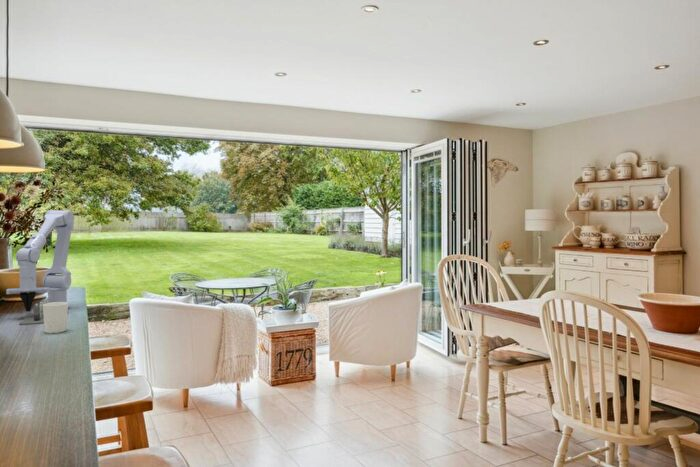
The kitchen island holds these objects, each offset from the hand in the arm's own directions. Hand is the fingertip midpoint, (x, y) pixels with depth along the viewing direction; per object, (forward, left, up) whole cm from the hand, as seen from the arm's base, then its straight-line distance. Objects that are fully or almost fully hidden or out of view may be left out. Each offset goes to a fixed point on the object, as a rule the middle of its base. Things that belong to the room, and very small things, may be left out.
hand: (28, 310), depth 204 cm
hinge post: (+9, +4, -3) cm, 10 cm away
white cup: (+30, +13, -3) cm, 33 cm away
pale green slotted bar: (+1, +4, -2) cm, 5 cm away
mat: (+3, +6, -3) cm, 8 cm away
